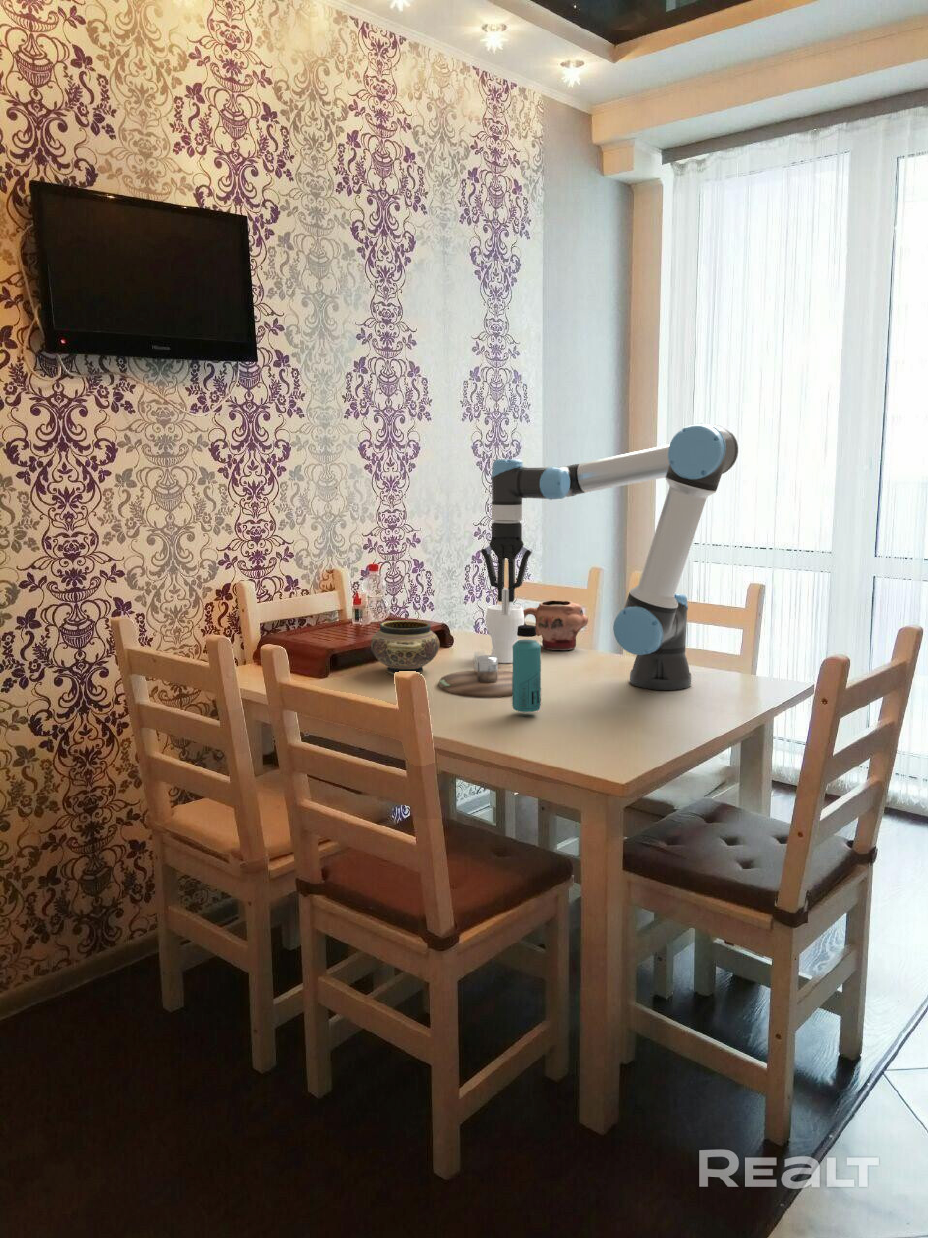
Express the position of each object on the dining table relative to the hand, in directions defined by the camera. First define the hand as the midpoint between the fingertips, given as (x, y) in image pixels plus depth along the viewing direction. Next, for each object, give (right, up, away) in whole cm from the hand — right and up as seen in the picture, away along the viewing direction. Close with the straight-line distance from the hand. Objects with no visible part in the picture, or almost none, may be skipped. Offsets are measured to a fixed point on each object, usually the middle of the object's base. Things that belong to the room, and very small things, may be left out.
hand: (506, 614), depth 237 cm
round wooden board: (-5, -18, -5) cm, 19 cm away
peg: (-6, -16, -1) cm, 17 cm away
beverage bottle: (+3, -22, -31) cm, 39 cm away
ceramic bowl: (-26, -15, +9) cm, 32 cm away
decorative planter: (+16, -10, +38) cm, 43 cm away
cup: (+1, -13, +22) cm, 26 cm away
